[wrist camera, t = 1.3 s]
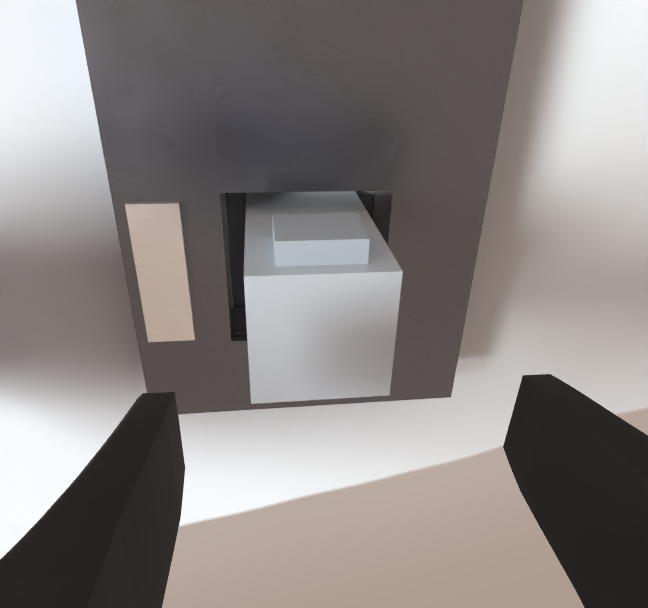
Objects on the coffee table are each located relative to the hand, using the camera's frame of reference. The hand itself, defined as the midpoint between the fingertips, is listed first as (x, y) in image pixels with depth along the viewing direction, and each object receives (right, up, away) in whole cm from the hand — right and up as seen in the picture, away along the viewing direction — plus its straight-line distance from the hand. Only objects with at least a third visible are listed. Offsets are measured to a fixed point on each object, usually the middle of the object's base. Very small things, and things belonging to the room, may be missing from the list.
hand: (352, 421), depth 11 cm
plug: (-2, +5, +9) cm, 11 cm away
